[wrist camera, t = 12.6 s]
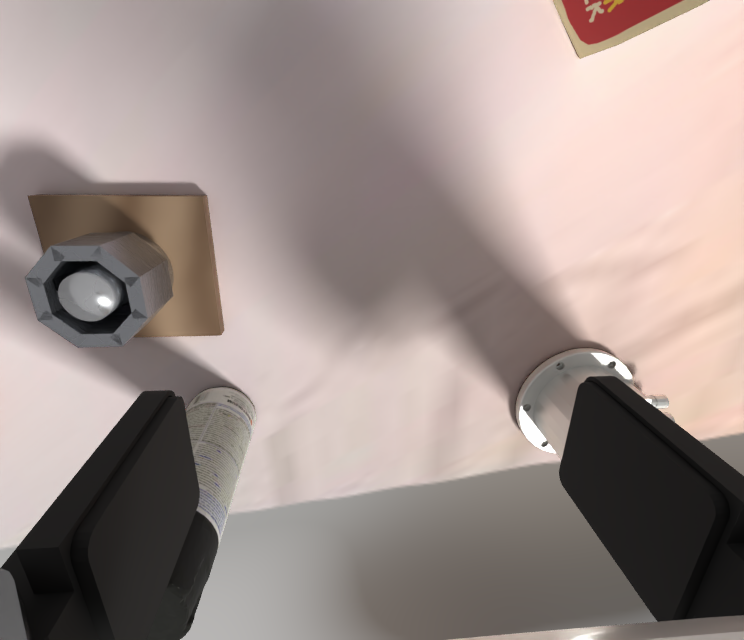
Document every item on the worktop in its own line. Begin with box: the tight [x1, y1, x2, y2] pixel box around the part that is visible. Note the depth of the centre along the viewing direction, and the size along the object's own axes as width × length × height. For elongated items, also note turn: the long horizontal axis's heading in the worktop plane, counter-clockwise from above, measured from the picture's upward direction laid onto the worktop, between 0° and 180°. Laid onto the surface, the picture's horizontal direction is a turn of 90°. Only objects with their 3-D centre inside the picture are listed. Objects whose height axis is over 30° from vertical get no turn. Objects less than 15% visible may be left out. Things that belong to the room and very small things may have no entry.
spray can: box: [147, 387, 256, 640], centre depth 32 cm, size 7×7×20 cm
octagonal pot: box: [25, 232, 173, 347], centre depth 30 cm, size 7×7×5 cm
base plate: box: [28, 195, 224, 337], centre depth 35 cm, size 13×12×1 cm
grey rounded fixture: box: [57, 231, 174, 321], centre depth 31 cm, size 7×7×7 cm
